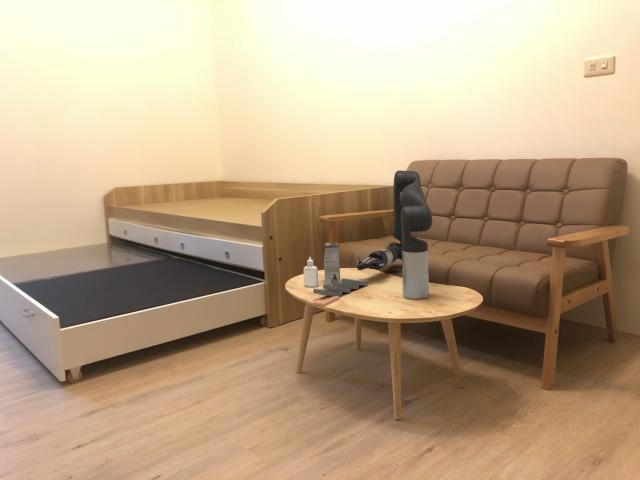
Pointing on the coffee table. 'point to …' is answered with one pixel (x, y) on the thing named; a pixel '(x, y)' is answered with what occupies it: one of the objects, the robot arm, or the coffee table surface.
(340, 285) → the domino
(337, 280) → the coffee box
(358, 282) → the domino
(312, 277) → the eye dropper bottle
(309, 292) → the coffee table surface
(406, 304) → the coffee table surface
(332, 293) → the domino
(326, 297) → the domino
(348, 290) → the domino
